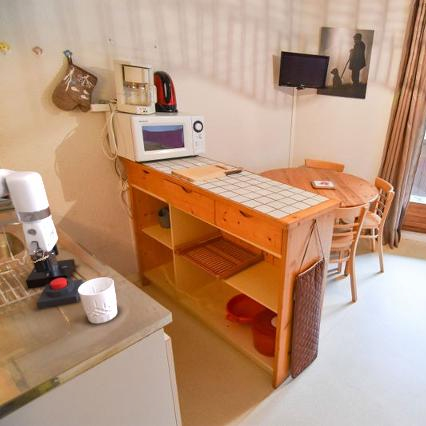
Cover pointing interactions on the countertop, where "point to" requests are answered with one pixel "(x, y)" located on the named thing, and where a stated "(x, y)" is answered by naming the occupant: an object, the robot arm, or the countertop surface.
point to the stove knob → (51, 260)
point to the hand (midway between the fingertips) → (48, 263)
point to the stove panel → (51, 274)
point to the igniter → (60, 294)
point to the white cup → (99, 299)
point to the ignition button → (58, 283)
